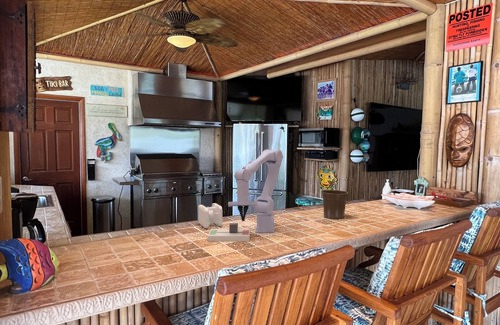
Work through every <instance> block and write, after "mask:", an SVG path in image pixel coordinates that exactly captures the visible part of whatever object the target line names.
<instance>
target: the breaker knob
mask: <svg viewBox="0 0 500 325" xmlns="http://www.w3.org/2000/svg"><path fill="white" fill-rule="evenodd" d="M228 229H229V233H238V229H239V223H237V222H235V223H234V222H232V223H229V227H228Z"/></svg>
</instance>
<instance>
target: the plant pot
mask: <svg viewBox="0 0 500 325" xmlns="http://www.w3.org/2000/svg"><path fill="white" fill-rule="evenodd" d="M348 195H349V192H348V191H345V190H340V189H339V190H336V189H324V190H321V198H322V205H323V217H325V218H327V219H330V220H337V219H338V220H343V219H344V218H345V211H346V205H347V204H346V202H347V199H348Z"/></svg>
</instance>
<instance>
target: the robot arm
mask: <svg viewBox="0 0 500 325" xmlns="http://www.w3.org/2000/svg"><path fill="white" fill-rule="evenodd" d="M283 155H284V154H283V152H282V150H281V149H267V148H266V149H264V150H263V151H261V154H260V155H259V156H258V157H257V158H256V159H255V160H249V161H248V163H246V164H245V165H244V166H242V167H241V168H239V169H236V171H235V172H234V174H233V176H234V179H235V182H236V191H237V192H236V199H237V201H228V203H227V205H228V206H227V207H229V208H230V207H237V211H238V212H239V215H240V218H241V222H245V221H246V215H247V212H248V210H249V207H253V211H254V213H255V215H256V227H255V233H275V228H276V227H275V215H274V214H272V213H273V212H274V208H275V206H274V205H275V201H274V200H273V198H272V196H273V194H274V189H275V185H276V182H277V179H278V175H279V172H280V169H281V165H282V162H283V159H284V156H283ZM264 163H265V164H266V165H267V167H269V170H268V172H267V176H266V179H265V182H264V186H263V188H262V192H261V195H260V196H257V198H256V199H255V201H249V200H250V188H249V187H250V184H249V182H250V180H251V179H252V176H253V175H254V174H255V173H256V172H258V170H259V167H260V166H261V165H263V164H264Z"/></svg>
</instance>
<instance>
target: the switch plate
mask: <svg viewBox="0 0 500 325" xmlns="http://www.w3.org/2000/svg"><path fill="white" fill-rule="evenodd" d="M250 237H251V229H250V228H248V229H247V228H238V233H229V228H211V229H210V230H209V232H208V234H207V242H250V239H251V238H250Z"/></svg>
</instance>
